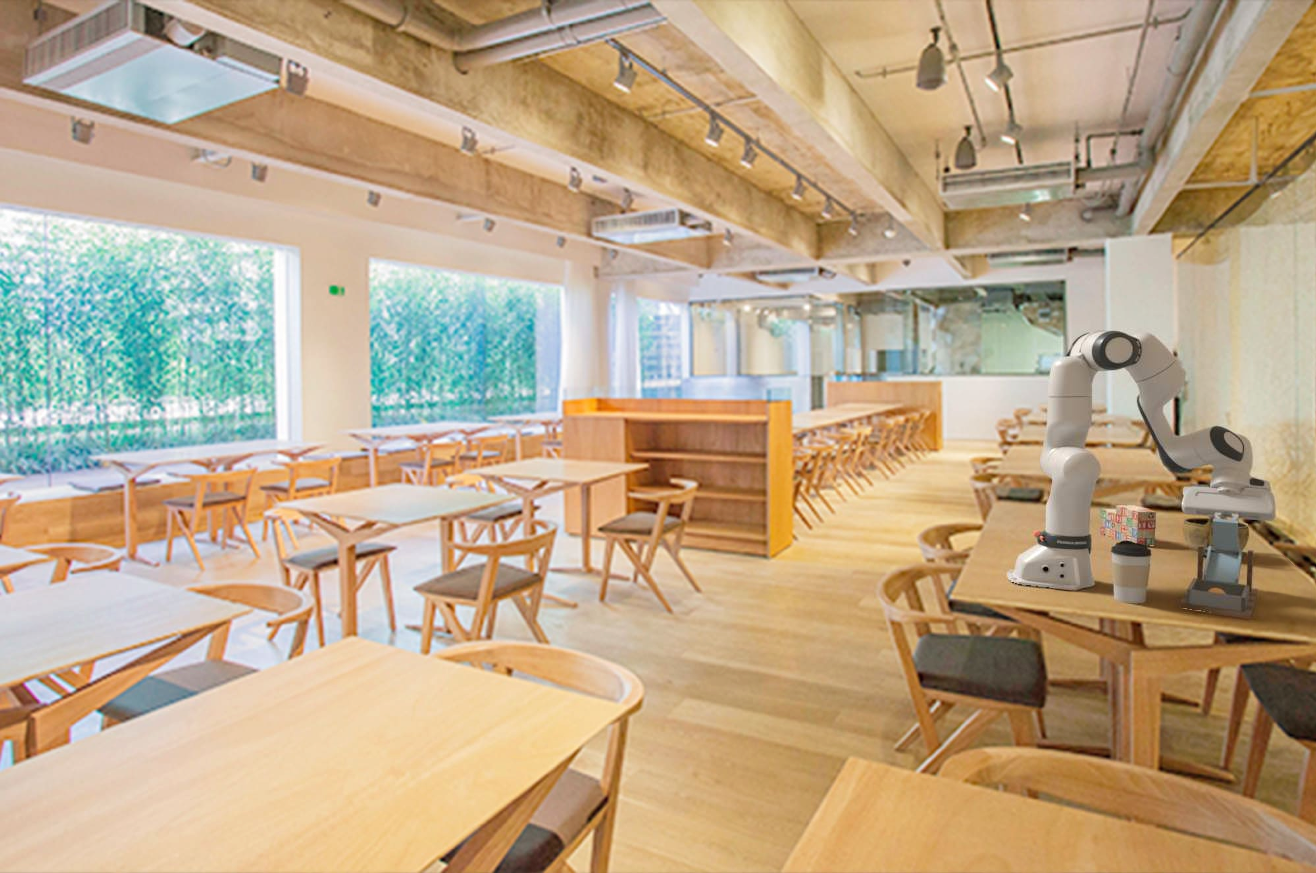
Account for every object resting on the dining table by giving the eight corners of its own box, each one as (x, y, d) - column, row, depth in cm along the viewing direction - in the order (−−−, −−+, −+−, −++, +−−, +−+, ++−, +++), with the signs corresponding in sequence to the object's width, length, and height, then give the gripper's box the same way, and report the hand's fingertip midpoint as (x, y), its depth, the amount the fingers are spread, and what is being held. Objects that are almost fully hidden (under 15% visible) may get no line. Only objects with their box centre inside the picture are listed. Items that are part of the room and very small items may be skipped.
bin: (1193, 591, 201) (1193, 578, 201) (1248, 598, 193) (1249, 585, 193) (1186, 603, 191) (1186, 589, 190) (1244, 612, 183) (1245, 597, 183)
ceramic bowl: (1246, 566, 230) (1248, 517, 228) (1178, 559, 240) (1180, 512, 239) (1248, 552, 247) (1250, 506, 246) (1185, 546, 257) (1186, 502, 256)
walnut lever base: (1193, 585, 211) (1194, 543, 210) (1257, 594, 202) (1259, 549, 201) (1180, 608, 191) (1181, 561, 190) (1250, 619, 182) (1252, 570, 181)
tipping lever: (1208, 552, 213) (1207, 505, 206) (1248, 556, 207) (1248, 509, 200) (1200, 596, 201) (1198, 548, 194) (1242, 602, 195) (1242, 553, 189)
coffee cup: (1156, 605, 194) (1158, 547, 193) (1117, 604, 196) (1118, 546, 195) (1141, 595, 203) (1143, 539, 202) (1104, 594, 205) (1105, 539, 204)
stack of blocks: (1099, 534, 279) (1100, 500, 278) (1116, 533, 279) (1117, 500, 278) (1137, 547, 258) (1138, 511, 257) (1155, 546, 258) (1156, 510, 257)
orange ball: (1212, 582, 191) (1212, 594, 192) (1202, 590, 189) (1203, 603, 191) (1230, 588, 187) (1230, 601, 189) (1220, 597, 186) (1220, 609, 188)
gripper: (1182, 477, 213) (1177, 517, 206) (1277, 482, 199) (1274, 526, 193) (1184, 490, 216) (1178, 530, 210) (1277, 496, 203) (1274, 539, 197)
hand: (1225, 528), depth 201 cm, fingers closed, pressing on tipping lever
